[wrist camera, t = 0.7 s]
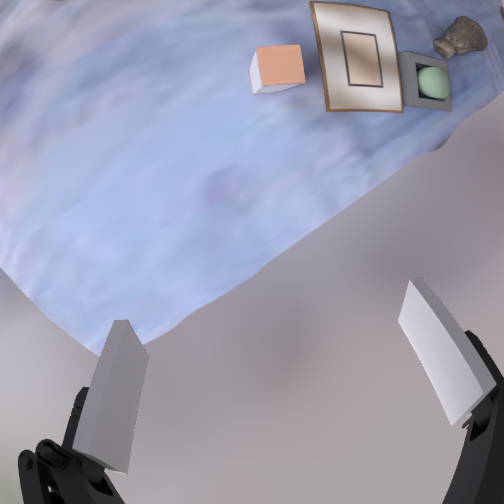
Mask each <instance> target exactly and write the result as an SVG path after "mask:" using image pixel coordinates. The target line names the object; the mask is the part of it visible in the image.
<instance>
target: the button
mask: <svg viewBox="0 0 504 504" xmlns="http://www.w3.org/2000/svg"><path fill="white" fill-rule="evenodd" d="M416 73H417V82H418V91H419V92H420V93H421V94H422V95H424V96H426V97H433V98H445V97H446V96H447V95H448V94H449V91H450V82H449V79H448V77H447V75H446V73H445V72H444V71H443V70H442V69H440V68H438V67H424V68H419V69H418V70H417V71H416Z"/></svg>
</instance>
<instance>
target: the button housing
mask: <svg viewBox="0 0 504 504" xmlns="http://www.w3.org/2000/svg"><path fill="white" fill-rule="evenodd" d="M397 54H398V61H399V68H400V76H401V86H402V97H403V105H404V106H414V107H423V108H431V109H438V110H444V111H450V112H451V96H450V91H449V94H448V95H447V96H446V97H445V98H436V100H431V99H425V98H419V93H418V82H417V73H416V65H417V66H422V67H438V68H440V69H442V70H443V71H444V72H445V73H446V75H447V77H448V79H449V74H448V66H447V62H446V61H442V60H439V59H435V58H431V57H427V56H423V55H419V54H414V53H410V52H402V53H397Z"/></svg>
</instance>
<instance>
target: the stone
mask: <svg viewBox="0 0 504 504" xmlns="http://www.w3.org/2000/svg"><path fill="white" fill-rule="evenodd" d="M434 47H435V49H436V51H437V52H438V53H439V54H440V55H441V56H442V57H444V58H446V59H450V58H451V57H452V56H453V54H457V55H463V54H466V53H468V52H471V51H481V50H484V49H485V48H486V47H487V39H486V36H485V35H484V32H483V30H482V28H481V26H480V25H479V24H478V23H477V22H475V21H473V20H471V19H469V18H467V17H465V16H460V17H458V18H456V20H455V23H454V24H453V25H452V26H450V27H449V28H448V29H447V31H446V32H445V33H444V36H443V38H442V39H437V40H435V41H434Z"/></svg>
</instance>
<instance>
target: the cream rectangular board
mask: <svg viewBox="0 0 504 504" xmlns="http://www.w3.org/2000/svg"><path fill="white" fill-rule="evenodd" d="M309 5H310V9H311V14H312V19H313V24H314V29H315V35H316V40H317V46H318V52H319V58H320V65H321V72H322V79H323V87H324V95H325V103H326V112H338V111H368V112H394V113H403V105H402V92H401V82H400V73H399V65H398V58H397V52H396V46H395V40H394V35H393V30H392V25H391V20H390V16H389V12H388V11H386V10H381V9H376V8H371V7H365V6H358V5H351V4H343V3H334V2H321V1H310V2H309Z"/></svg>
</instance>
